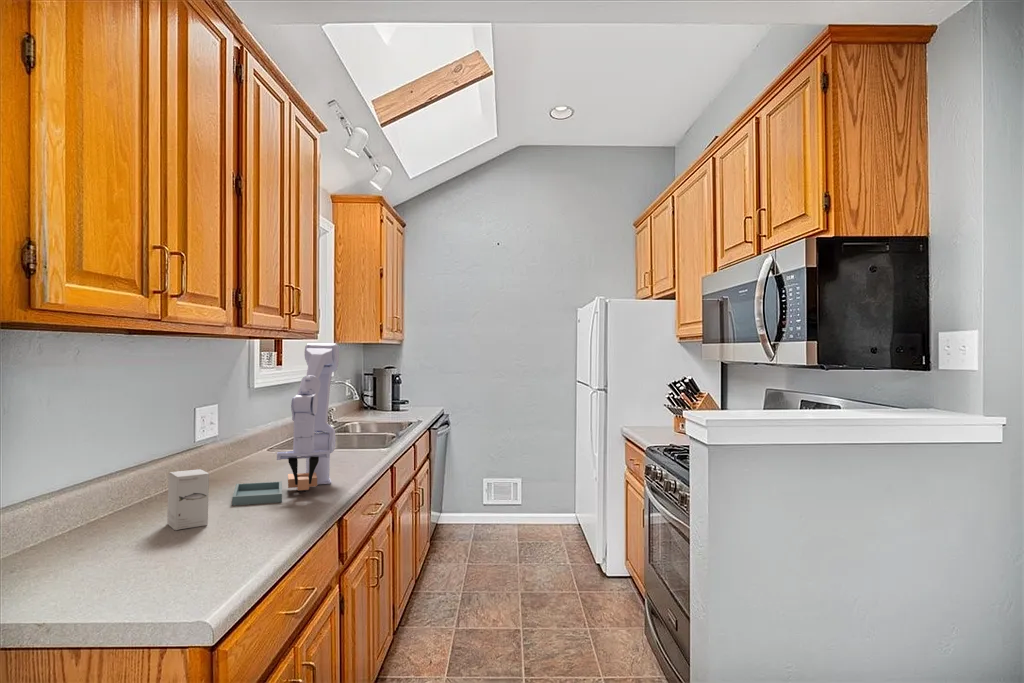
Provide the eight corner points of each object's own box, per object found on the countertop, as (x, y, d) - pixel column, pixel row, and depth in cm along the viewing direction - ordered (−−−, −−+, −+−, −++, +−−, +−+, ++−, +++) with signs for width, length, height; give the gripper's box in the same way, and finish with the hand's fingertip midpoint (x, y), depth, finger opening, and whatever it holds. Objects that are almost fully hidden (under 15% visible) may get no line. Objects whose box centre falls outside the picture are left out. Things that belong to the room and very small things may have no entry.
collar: (287, 482, 192) (288, 472, 192) (315, 480, 194) (315, 470, 194) (288, 490, 180) (288, 480, 180) (317, 489, 183) (318, 478, 183)
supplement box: (174, 531, 147) (175, 476, 147) (166, 524, 153) (167, 471, 153) (208, 525, 152) (209, 472, 152) (199, 519, 158) (200, 468, 158)
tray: (236, 491, 187) (236, 483, 187) (281, 489, 191) (281, 481, 191) (232, 505, 171) (232, 496, 171) (281, 502, 176) (282, 493, 176)
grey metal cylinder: (297, 490, 190) (297, 476, 190) (306, 489, 191) (306, 476, 191) (297, 492, 188) (298, 478, 188) (306, 491, 188) (306, 478, 188)
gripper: (277, 439, 177) (276, 488, 177) (331, 437, 182) (330, 485, 182) (277, 435, 184) (276, 482, 184) (329, 434, 189) (328, 479, 189)
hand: (303, 483), depth 184 cm, fingers closed on collar, 3 cm apart
